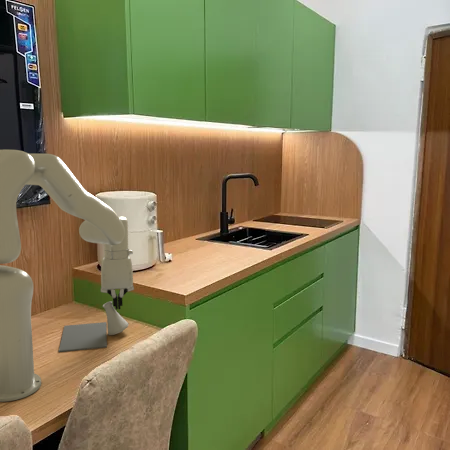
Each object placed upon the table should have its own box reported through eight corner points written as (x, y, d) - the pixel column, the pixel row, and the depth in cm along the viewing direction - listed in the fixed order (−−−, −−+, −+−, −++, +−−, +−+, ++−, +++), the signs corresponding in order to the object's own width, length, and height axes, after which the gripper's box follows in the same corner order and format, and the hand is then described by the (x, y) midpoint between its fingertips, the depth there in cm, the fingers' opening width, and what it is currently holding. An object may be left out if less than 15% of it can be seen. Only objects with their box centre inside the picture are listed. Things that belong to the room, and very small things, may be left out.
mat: (58, 352, 129) (58, 350, 129) (64, 327, 148) (64, 325, 148) (106, 347, 133) (106, 345, 133) (106, 323, 152) (106, 322, 152)
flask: (123, 333, 139) (111, 305, 137) (104, 337, 141) (92, 311, 139) (132, 322, 146) (121, 296, 144) (114, 327, 148) (102, 301, 146)
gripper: (138, 250, 145) (139, 302, 148) (92, 252, 141) (94, 306, 144) (140, 255, 138) (141, 310, 141) (92, 258, 134) (94, 314, 137)
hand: (117, 308), depth 142 cm, fingers closed
